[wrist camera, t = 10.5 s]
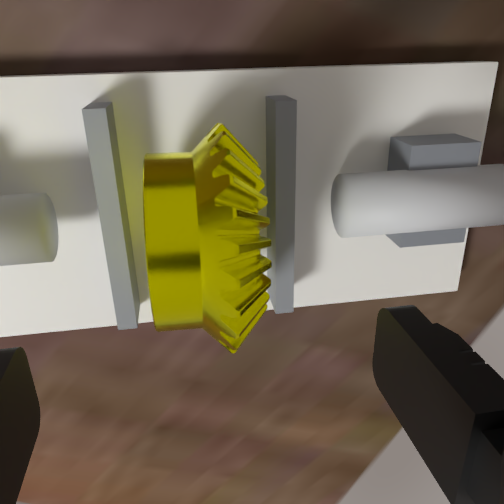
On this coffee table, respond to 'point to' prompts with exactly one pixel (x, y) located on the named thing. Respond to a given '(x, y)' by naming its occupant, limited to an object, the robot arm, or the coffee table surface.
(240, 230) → the gear
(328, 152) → the coupling board
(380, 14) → the coffee table surface
